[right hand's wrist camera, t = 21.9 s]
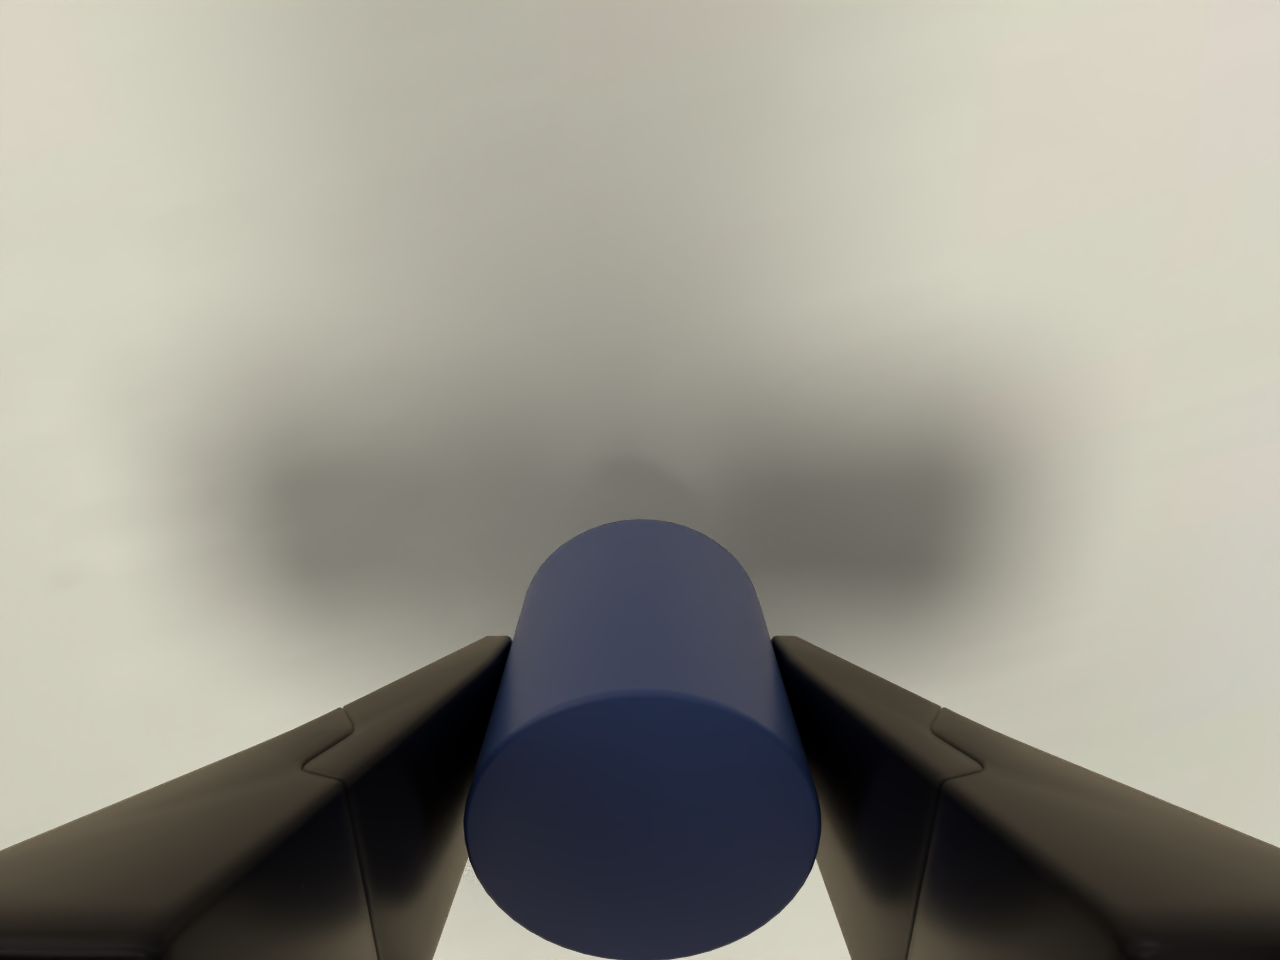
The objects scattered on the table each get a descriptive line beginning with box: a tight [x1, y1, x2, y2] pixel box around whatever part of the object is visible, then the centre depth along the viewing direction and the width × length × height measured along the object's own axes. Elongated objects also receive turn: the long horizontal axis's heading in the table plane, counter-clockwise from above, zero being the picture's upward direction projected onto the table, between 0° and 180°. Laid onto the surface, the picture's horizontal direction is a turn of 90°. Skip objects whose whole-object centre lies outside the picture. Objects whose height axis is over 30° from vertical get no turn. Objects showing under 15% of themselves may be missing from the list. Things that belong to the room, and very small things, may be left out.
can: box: [463, 519, 821, 960], centre depth 10 cm, size 4×4×5 cm
